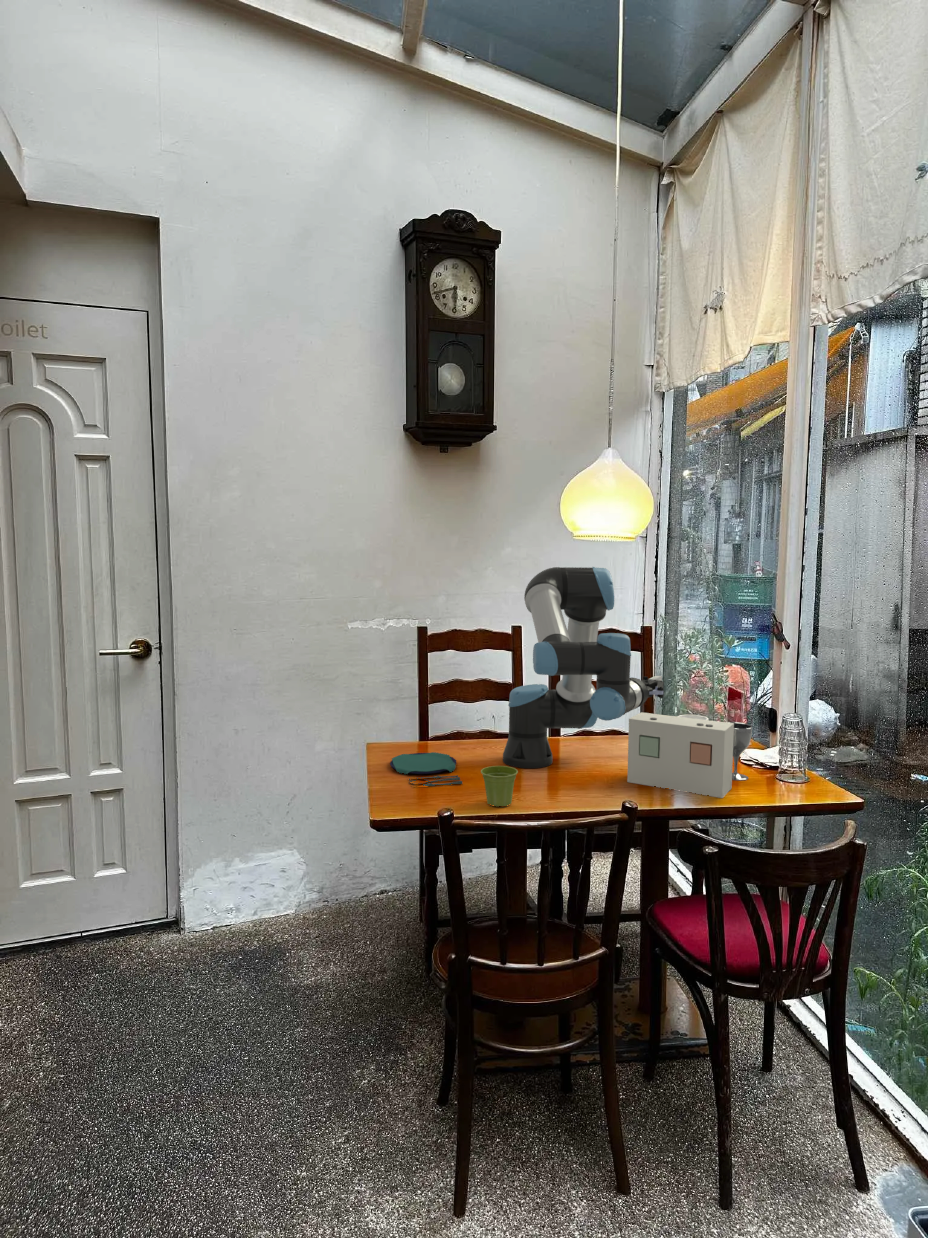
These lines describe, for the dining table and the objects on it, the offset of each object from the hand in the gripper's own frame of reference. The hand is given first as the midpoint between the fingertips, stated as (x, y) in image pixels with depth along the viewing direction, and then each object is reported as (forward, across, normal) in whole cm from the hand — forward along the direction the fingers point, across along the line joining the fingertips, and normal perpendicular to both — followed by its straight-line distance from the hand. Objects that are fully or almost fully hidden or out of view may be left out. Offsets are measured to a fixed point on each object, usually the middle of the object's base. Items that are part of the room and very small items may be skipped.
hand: (658, 680), depth 208 cm
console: (+8, +4, -30) cm, 31 cm away
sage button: (+6, -3, -22) cm, 23 cm away
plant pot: (-32, -30, -30) cm, 54 cm away
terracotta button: (+6, +11, -22) cm, 25 cm away
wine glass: (+25, +15, -30) cm, 42 cm away
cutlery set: (-19, -62, -31) cm, 72 cm away
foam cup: (+37, -1, -30) cm, 48 cm away
